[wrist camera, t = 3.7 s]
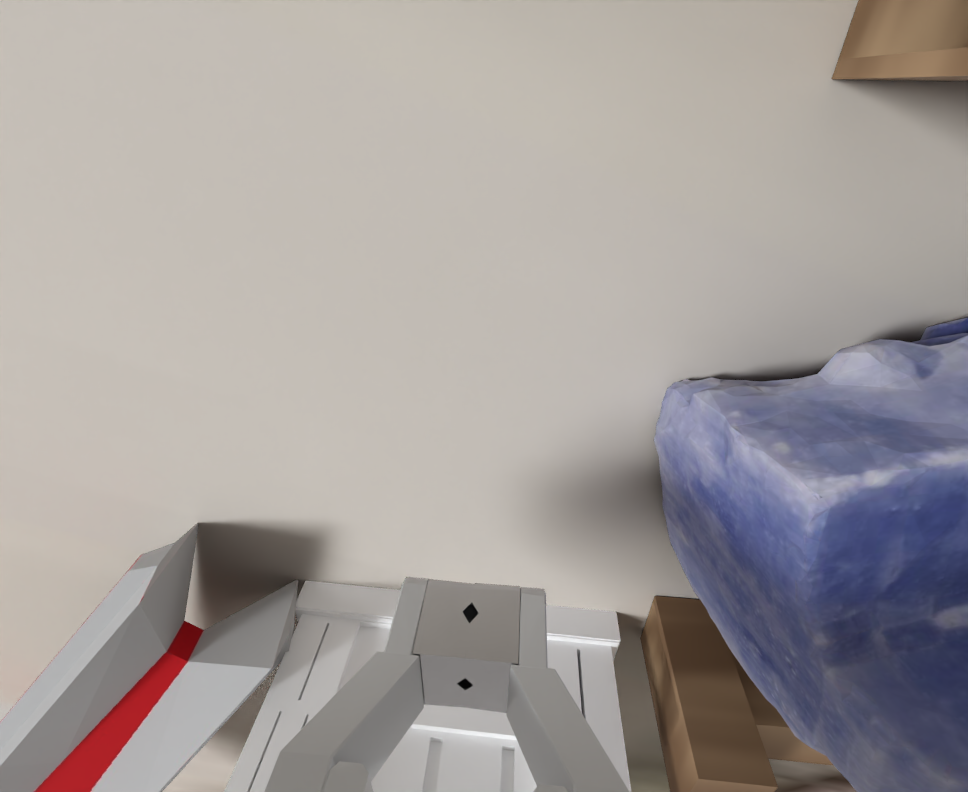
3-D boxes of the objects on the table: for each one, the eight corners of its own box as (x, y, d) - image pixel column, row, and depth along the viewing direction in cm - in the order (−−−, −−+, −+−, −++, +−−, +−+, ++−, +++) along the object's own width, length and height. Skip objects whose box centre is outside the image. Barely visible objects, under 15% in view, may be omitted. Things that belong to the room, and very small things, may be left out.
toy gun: (338, 491, 31) (290, 691, 17) (90, 771, 34) (-126, 1139, 20) (245, 430, 29) (102, 600, 15) (-11, 734, 32) (-335, 1119, 18)
